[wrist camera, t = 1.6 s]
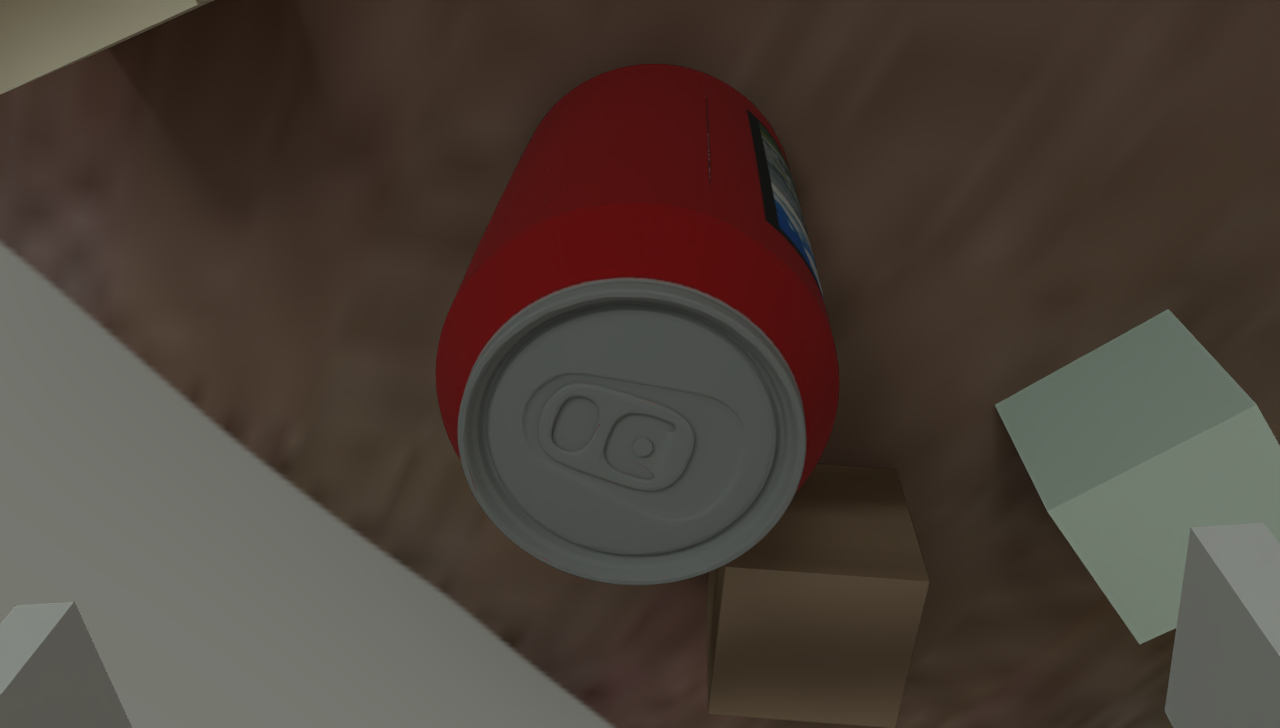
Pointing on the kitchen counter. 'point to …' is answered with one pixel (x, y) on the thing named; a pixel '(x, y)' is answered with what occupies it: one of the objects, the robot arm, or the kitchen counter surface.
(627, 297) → the beverage can
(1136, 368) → the cube sage
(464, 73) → the kitchen counter surface
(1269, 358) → the kitchen counter surface
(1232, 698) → the robot arm
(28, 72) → the cube beech
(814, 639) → the cube walnut
